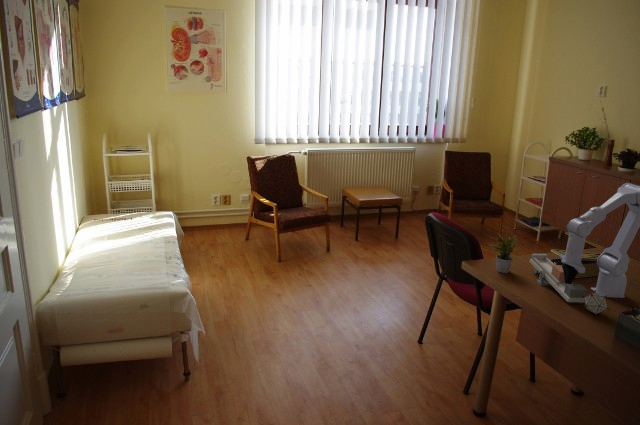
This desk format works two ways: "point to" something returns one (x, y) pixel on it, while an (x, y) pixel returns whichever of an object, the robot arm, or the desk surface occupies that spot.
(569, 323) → the desk surface
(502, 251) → the house plant
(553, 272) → the block
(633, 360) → the desk surface
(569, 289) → the beam
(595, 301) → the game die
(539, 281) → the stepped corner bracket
